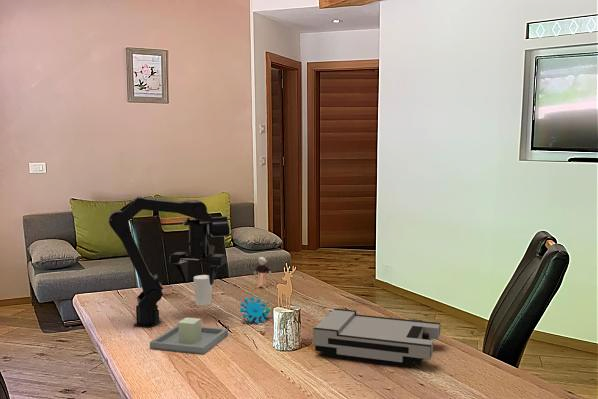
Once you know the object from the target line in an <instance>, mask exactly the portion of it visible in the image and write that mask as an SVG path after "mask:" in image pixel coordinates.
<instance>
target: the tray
mask: <svg viewBox="0 0 598 399" xmlns="http://www.w3.org/2000/svg"><path fill="white" fill-rule="evenodd" d="M201 332H202V338H201V339H200V340H198V341H197V342H196V343H194V344H192V343H182V342H179V335H178V324H177V325H175V326H173V327H172V328H170V329H168V330H167V331H166V332H164V333H162V334H161V335H159V336H157V337H156V338H155V339H153V340H151V341H149V350H157V351H167V352H175V353H183V354H184V353H185V354H192V355H193V354H194V355H200V356H204V355H205V354H207V353H208V352H209V351H210V350H212V349H213V348H214V347H215V346H216V345H217V344H219V343H220V342H222V341H223V340H224V339H226V338H227V336H228V335H229V329H228V328H222V327H210V326H201Z"/></svg>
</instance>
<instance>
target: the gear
mask: <svg viewBox="0 0 598 399" xmlns="http://www.w3.org/2000/svg"><path fill="white" fill-rule="evenodd" d="M255 298H256V297H255V296H250V302H249V297H246V298H244V301H242V302H241V303H240V306H241V308H240V310H239V312H240V313H243V314H242V318H243V319H246V318H247V317H248V319H247V321H248V323H252V321H253V319H255V320H254V322H253V323H254V324H255V325H256V324H257V325H258V324H259V323H264V322H265V321H266V319H267V318H268V317H269V312H271V310H272V306H269V307H266V306H267V303H266V302H265V301H263V302H262V303H260V302H261V301H262V299H261V298H260V297H258V298H257V299H256V301H255ZM259 318H260V320H259Z"/></svg>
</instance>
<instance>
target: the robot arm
mask: <svg viewBox="0 0 598 399" xmlns="http://www.w3.org/2000/svg"><path fill="white" fill-rule="evenodd" d="M143 210H144V211H145V210H146V211H153V212H155V211H156V212H164V213H173V214H180V215H184V216H186V217H187V218H186V219H185V220H184V221H183V222H182V225H184V227H186V226H188V239H189V240H188V241H187V246H188V247H189V253H188V252H187V251H176V252H174V253H171V254H170V256H169V263H170V264H172V265H173V266H175V268H176V269H177V270H178V272H179V274H180V276H181V278H182V279H183V281H184V283H185V284H188V283H189V282H188V281H189V272H188V265H189V262H204V263H208V264H210V265H208V275H209V281H210V285H212V286H213V284H214V281H215V278H216V275H217V272H218V270H219V269H220V267H222V266H224V264H227V263H228V257H227V255H226V254H225V253H224V254H223V253H215V246H214V245H211V244H210V243H209V239H207V234H208V235H210V237H211V238H219V237H223V238H224V237H229V236H230V226H229V220H228V216H226V215H224V216H223V215H221V216H215V217H212V215H211V214H209V212H208V208H207V205H206V204H205V202H203V201H201V200H198V199H191V200H190V199H188V200H180V201H177V200H168V199H159V198H150V197H142V196H136V197H135V198H133V200H131V201H130V202H129V203H127V204H125V205H124V206H123V207H122V208H121V209H115V210H113V211H111V212H110V214H109V216H108V224H109V226H110V228H111V229H112V230H113V232H114V233H115V235H116V236H117V237H118V238H119V239H120V241H121V242H122V245H123V246H124V249H125V251H126V252H127V256H128V258H129V259H130V261H131V263H132V265H133V267H134V269H135V272H136V273H137V275H138V278H139V280H140V281H139V282H140V285H141V288H142V291H141V292H140V293H139V294H138V295H137V297H136V300H137V305H136V306H135V313H136V314H135V315H136V316H135V318H136V323H134V324H133V326H134V327H143V328H152V327H154V326H156V325H157V324H159V323H161V322H162V321H161V319H160V310H159V306H158V305H159V304H158V302H160V300H161V299H162V297H163V290H164V287H163V284H162V283H161V282H160V280H159V277H158V274H156V273H155V274H154V275H152V273H151V271H150V270H149V268H148V266H147V264H146V262H145V260H144V258H143V255H142V254H141V252H140V250H139V247H138V245H137V243H136V240H135V238H134V236H133V234H132V230H131V226H130V223H129V221H130V220H132V219H133V218H134V217H135V216H136V215H137V214H139V212H141V211H143ZM189 217H190V218H189ZM191 218H193V219H191ZM201 219H202V220H204V221H200V220H201Z"/></svg>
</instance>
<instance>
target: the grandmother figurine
mask: <svg viewBox="0 0 598 399" xmlns="http://www.w3.org/2000/svg"><path fill="white" fill-rule="evenodd" d="M266 263H268V262H267V259H266V258H265V257H264V256H259V257H258V264H259V265H258V266H256V268H255V269H254V272H253V274H254V275H257V285H256V286H255V289H257V288H259V289H260V288H261V289H266V288H267V282H268V281H267V279H268V278H267V273H268V275H269V276H271V275H272V272H271V268H269V266H267V265H265V264H266Z"/></svg>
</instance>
